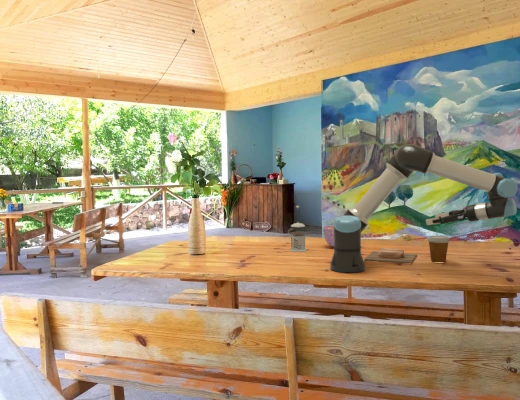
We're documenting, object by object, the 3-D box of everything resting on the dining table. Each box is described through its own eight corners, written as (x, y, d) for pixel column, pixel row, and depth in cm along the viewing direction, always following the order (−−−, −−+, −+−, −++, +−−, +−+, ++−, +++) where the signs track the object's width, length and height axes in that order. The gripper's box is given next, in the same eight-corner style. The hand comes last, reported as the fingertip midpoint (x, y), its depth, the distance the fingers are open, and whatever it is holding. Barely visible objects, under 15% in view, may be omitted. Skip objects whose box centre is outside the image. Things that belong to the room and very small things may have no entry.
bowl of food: (323, 244, 269) (323, 224, 268) (357, 244, 265) (357, 225, 264) (321, 249, 249) (321, 229, 249) (358, 250, 245) (358, 229, 245)
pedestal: (411, 264, 208) (411, 255, 208) (364, 260, 217) (364, 252, 217) (416, 255, 228) (416, 248, 228) (373, 253, 237) (373, 245, 237)
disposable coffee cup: (451, 264, 206) (451, 238, 205) (429, 264, 208) (429, 238, 207) (446, 260, 215) (447, 235, 215) (426, 260, 217) (426, 235, 216)
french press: (299, 252, 243) (299, 206, 241) (283, 250, 251) (282, 205, 249) (310, 249, 250) (310, 205, 248) (294, 247, 258) (293, 204, 256)
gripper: (472, 226, 194) (424, 232, 207) (485, 214, 213) (440, 221, 226) (468, 209, 193) (420, 217, 207) (481, 199, 213) (437, 207, 226)
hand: (431, 219), depth 217 cm, fingers open, 13 cm apart
